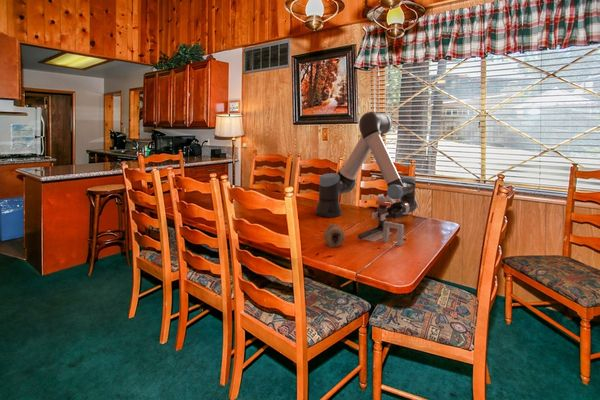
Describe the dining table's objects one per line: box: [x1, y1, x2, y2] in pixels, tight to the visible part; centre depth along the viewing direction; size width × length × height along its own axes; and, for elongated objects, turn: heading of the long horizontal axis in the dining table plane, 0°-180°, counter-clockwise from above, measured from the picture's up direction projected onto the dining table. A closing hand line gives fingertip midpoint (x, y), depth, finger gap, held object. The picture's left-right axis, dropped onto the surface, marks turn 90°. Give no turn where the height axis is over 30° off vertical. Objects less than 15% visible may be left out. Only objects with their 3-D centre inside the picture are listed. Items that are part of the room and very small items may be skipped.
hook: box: [357, 200, 391, 240], centre depth 179 cm, size 7×24×14 cm, turn 140°
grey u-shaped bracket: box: [380, 220, 405, 247], centre depth 171 cm, size 9×5×9 cm, turn 50°
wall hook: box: [377, 193, 396, 206], centre depth 239 cm, size 8×10×10 cm
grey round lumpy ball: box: [323, 223, 346, 248], centre depth 167 cm, size 9×8×10 cm
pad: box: [357, 231, 394, 243], centre depth 182 cm, size 9×18×1 cm, turn 140°
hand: (377, 217), depth 181 cm, fingers closed on hook, 4 cm apart
